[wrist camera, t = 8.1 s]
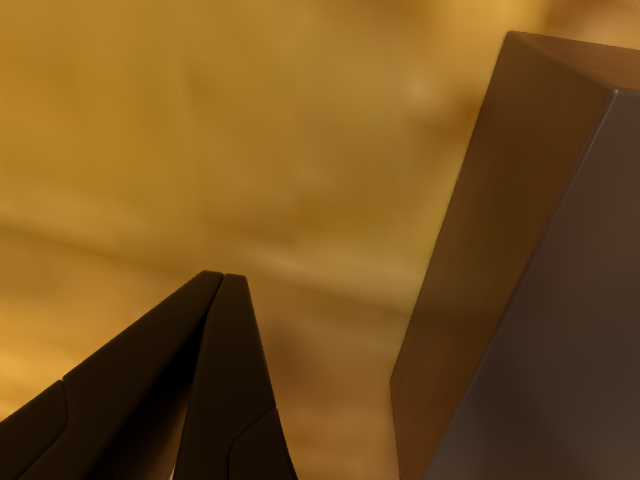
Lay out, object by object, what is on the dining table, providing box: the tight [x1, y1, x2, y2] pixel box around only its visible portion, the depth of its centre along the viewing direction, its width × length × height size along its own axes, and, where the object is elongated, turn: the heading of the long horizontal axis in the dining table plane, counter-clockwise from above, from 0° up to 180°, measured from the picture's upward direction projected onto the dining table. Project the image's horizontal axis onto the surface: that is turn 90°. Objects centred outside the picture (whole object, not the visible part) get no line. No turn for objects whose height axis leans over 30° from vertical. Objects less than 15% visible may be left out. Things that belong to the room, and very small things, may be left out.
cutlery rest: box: [390, 31, 640, 480], centre depth 9 cm, size 10×5×4 cm, turn 172°
